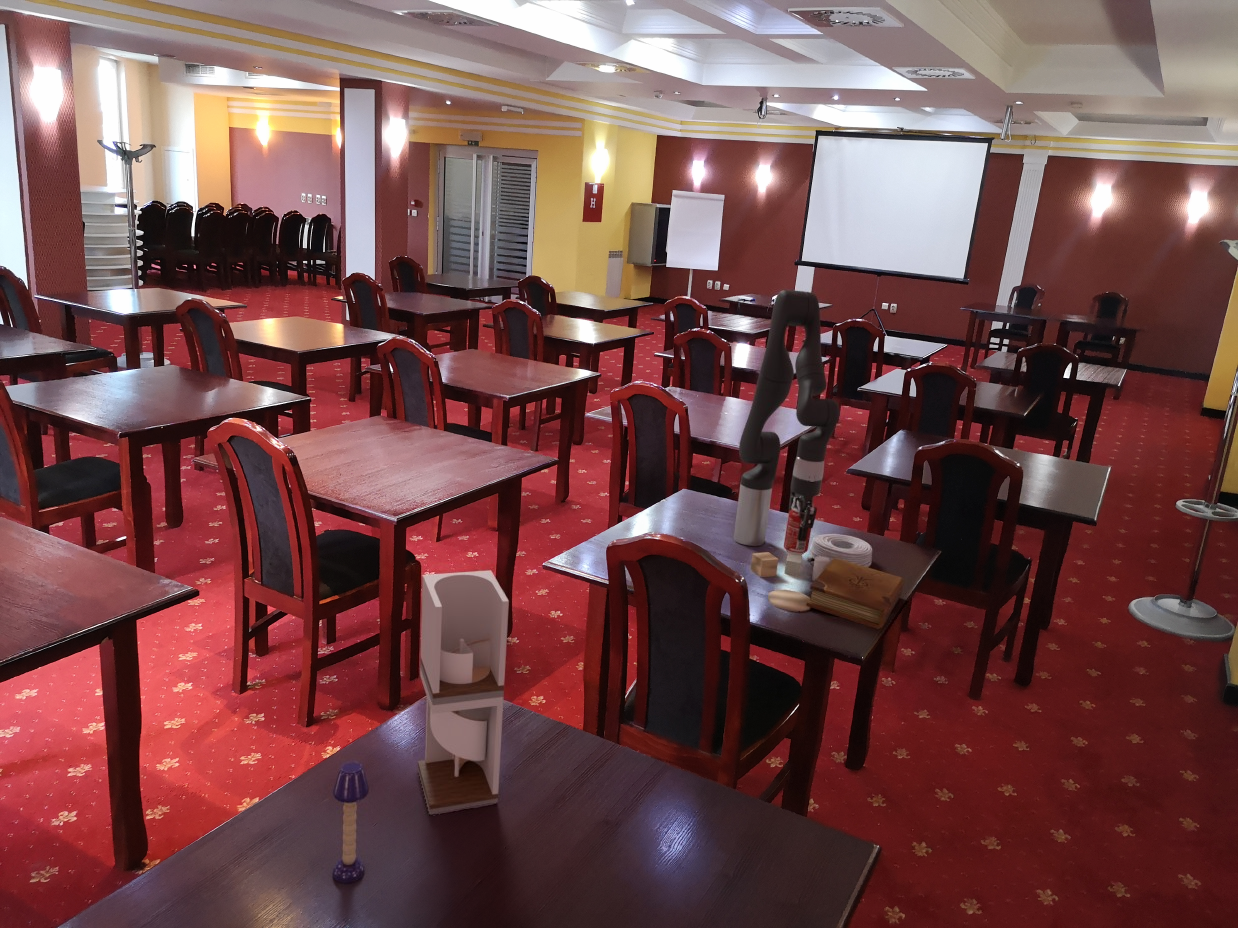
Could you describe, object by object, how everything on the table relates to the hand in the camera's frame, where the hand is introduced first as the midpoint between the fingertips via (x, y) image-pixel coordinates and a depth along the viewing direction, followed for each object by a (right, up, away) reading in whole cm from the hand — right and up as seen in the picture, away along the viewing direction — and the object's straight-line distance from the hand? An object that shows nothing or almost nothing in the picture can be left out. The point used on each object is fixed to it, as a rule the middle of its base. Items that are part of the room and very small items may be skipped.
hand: (797, 535), depth 233 cm
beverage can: (0, -5, +1) cm, 5 cm away
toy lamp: (-84, -38, -109) cm, 143 cm away
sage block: (+1, -11, +12) cm, 16 cm away
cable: (+16, -9, +23) cm, 29 cm away
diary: (+13, -17, -6) cm, 22 cm away
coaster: (-4, -16, -9) cm, 19 cm away
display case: (-73, -34, -90) cm, 120 cm away
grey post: (+7, -12, +7) cm, 16 cm away
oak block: (-8, -11, +8) cm, 16 cm away
